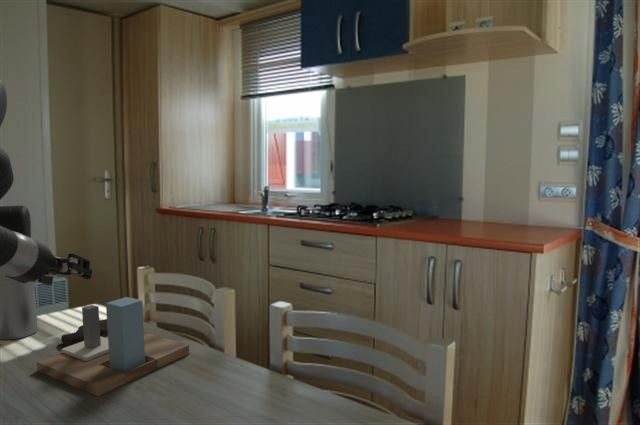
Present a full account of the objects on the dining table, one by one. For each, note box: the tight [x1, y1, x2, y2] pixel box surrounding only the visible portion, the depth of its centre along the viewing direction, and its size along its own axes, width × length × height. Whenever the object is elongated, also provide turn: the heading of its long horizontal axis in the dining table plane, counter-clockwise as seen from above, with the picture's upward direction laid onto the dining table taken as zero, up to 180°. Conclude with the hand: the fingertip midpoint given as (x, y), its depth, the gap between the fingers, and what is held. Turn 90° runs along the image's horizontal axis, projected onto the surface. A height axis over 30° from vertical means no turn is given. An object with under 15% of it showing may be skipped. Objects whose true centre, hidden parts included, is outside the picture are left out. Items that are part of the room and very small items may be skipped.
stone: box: [60, 318, 108, 347], centre depth 125 cm, size 18×11×3 cm, turn 137°
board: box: [36, 332, 190, 397], centre depth 107 cm, size 21×23×2 cm
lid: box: [61, 304, 109, 361], centre depth 108 cm, size 9×9×10 cm
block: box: [105, 296, 145, 373], centre depth 102 cm, size 5×5×15 cm
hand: (70, 277), depth 102 cm, fingers open, 8 cm apart
